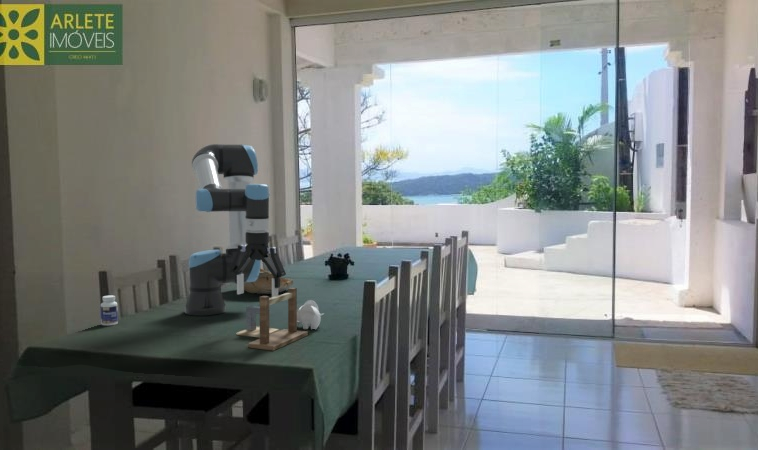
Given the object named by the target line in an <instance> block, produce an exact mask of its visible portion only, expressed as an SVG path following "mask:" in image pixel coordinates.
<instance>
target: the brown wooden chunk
mask: <svg viewBox="0 0 758 450" xmlns="http://www.w3.org/2000/svg"><path fill="white" fill-rule="evenodd" d="M272 278H274V276H273V275H272V274H271V272H270V271H267V270H265V269H263V268H260V273H259V276H258V279H257V280H256V281H254V282H246V283H244V292H247V293H251V294H254V293H257V294H256V295H272ZM293 284H294V280H293V279H292V278H291V279H290V278H284V277H281V278H280V287H279V288H278V294H279V292H280V293H283V292H284V291H287V290H288V288H291V286H292V285H293Z"/></svg>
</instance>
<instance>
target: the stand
mask: <svg viewBox="0 0 758 450" xmlns="http://www.w3.org/2000/svg"><path fill="white" fill-rule="evenodd" d="M297 289H298V288H297V287H289V288H288V289H287V291H288V292H285V293H283V294H278V296H275V297H272V296H271V297H270V296H268V295H262V296H261V295H260V296H259V306H260V314H259V327H260V338H258V339H256V340H253V341H251V342H248V343H247V347H248V348H251V349H258V350H259V349H260V350H266V351H273V352H274V351H276V350H279V349H280V348H283V347H285V346H287V345H289V344H292V343H294V342H296V341H298V340H300V339H302V338H303V339H304V338H305V337H308V335H309V334H308V333H309V331H308V330H307V331H306V330H298V325H297V311H298V307H297V304H298V301H297V299H298V296H297V295H298V293H297V292H298V291H297ZM287 300H288V302H287V303H288V304H287V307H288V308H287V316H288V317H287V324H288V327H287V328H283V329H281V330H280V329H279V331H277V332H275V333H273V334H270V335H269V328H270V306H271V305H274V304H277V303H278V304H279V303H280V302H283V301H287Z"/></svg>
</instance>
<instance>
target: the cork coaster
mask: <svg viewBox="0 0 758 450" xmlns="http://www.w3.org/2000/svg"><path fill="white" fill-rule="evenodd" d="M277 331H280V329H279V328H272V327H269V335H270V334H273V333H275V332H277ZM236 335H237V336H242V337H243V336H244V337H252V338H253V337H254V338H258V339H260V326H256V330H254V331H246V329H243V330H239V331H238V332H236Z"/></svg>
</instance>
